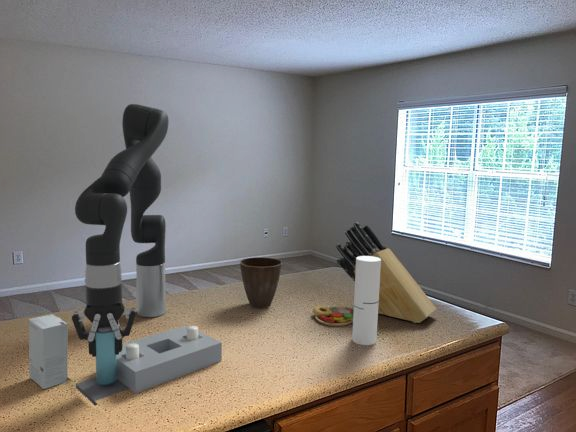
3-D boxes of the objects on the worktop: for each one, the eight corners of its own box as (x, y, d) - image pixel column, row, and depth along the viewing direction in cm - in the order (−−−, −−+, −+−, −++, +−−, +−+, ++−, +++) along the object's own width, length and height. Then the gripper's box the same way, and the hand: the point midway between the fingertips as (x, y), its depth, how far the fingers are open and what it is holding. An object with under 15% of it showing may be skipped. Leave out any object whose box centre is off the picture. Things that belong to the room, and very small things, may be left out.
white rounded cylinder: (124, 373, 113) (123, 345, 112) (135, 369, 115) (135, 342, 114) (130, 377, 111) (129, 349, 110) (141, 373, 113) (141, 346, 112)
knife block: (346, 296, 182) (349, 217, 177) (436, 317, 162) (443, 228, 157) (331, 304, 172) (335, 220, 168) (425, 326, 152) (432, 233, 148)
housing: (104, 372, 116) (103, 349, 115) (186, 345, 133) (186, 325, 132) (135, 397, 105) (135, 372, 104) (221, 364, 122) (221, 342, 121)
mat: (76, 387, 108) (75, 383, 108) (117, 374, 115) (117, 370, 115) (94, 405, 101) (94, 400, 101) (137, 389, 109) (137, 385, 108)
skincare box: (28, 378, 112) (25, 318, 110) (54, 370, 117) (52, 312, 115) (44, 390, 107) (41, 328, 105) (70, 381, 111) (68, 321, 109)
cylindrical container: (376, 346, 136) (380, 262, 133) (351, 343, 137) (355, 260, 134) (376, 337, 143) (381, 256, 139) (352, 334, 144) (356, 255, 141)
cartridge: (95, 385, 106) (93, 330, 104) (97, 376, 110) (95, 323, 108) (116, 383, 107) (114, 328, 105) (117, 374, 111) (116, 321, 109)
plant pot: (230, 303, 170) (231, 260, 167) (262, 295, 180) (263, 255, 177) (256, 315, 159) (257, 269, 156) (289, 306, 169) (290, 262, 166)
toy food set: (310, 314, 162) (310, 305, 162) (346, 312, 165) (347, 303, 164) (320, 328, 149) (320, 318, 149) (360, 326, 152) (360, 317, 151)
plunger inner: (184, 353, 125) (184, 327, 124) (194, 349, 127) (193, 325, 126) (191, 356, 123) (190, 331, 122) (200, 353, 125) (200, 328, 124)
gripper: (137, 275, 110) (139, 345, 113) (71, 278, 106) (74, 350, 109) (136, 285, 103) (138, 358, 106) (65, 288, 99) (69, 364, 102)
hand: (105, 353), depth 107 cm, fingers closed on cartridge, 4 cm apart
